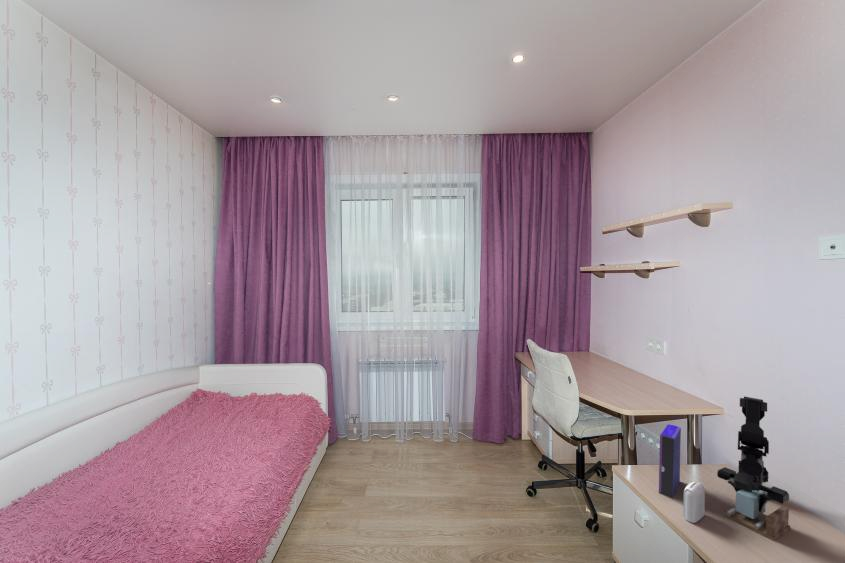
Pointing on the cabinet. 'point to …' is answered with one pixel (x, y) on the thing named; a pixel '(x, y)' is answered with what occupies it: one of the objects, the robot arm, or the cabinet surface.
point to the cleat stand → (763, 522)
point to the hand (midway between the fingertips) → (750, 507)
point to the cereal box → (669, 460)
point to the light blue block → (749, 503)
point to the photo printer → (694, 502)
